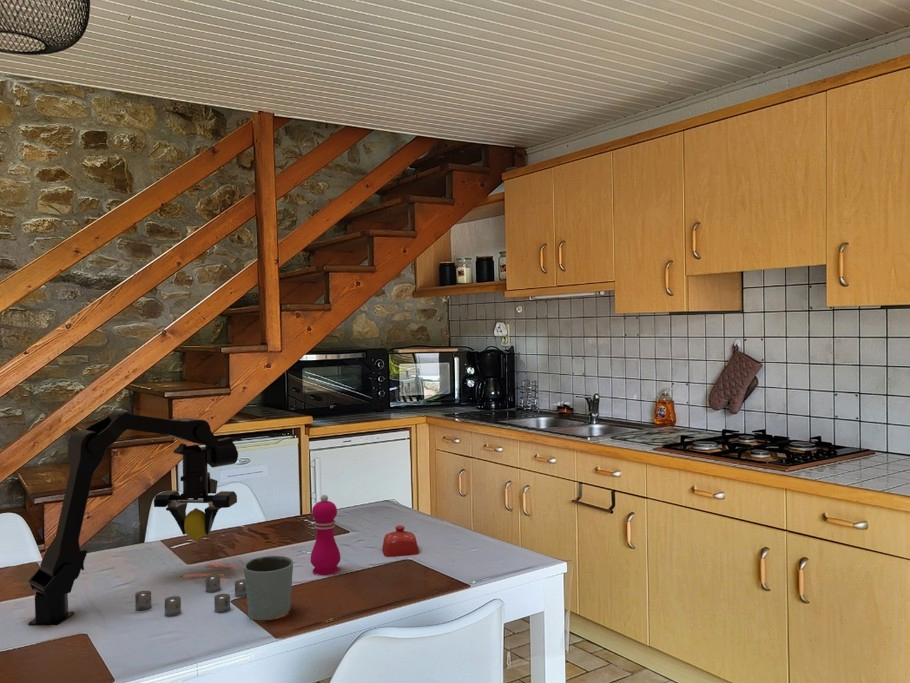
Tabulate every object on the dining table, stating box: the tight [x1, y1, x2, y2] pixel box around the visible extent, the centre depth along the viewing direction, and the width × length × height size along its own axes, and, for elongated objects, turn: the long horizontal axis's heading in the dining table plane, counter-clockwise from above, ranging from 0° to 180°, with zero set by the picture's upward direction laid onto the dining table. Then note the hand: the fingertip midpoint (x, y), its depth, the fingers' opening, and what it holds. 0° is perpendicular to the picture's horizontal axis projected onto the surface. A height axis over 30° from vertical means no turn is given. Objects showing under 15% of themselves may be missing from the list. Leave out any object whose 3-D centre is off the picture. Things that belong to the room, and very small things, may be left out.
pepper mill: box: [310, 494, 341, 576], centre depth 185 cm, size 7×7×20 cm
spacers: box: [134, 573, 247, 617], centre depth 168 cm, size 17×22×4 cm
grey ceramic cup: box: [243, 555, 294, 620], centre depth 159 cm, size 10×10×12 cm
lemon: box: [184, 507, 206, 542], centre depth 185 cm, size 6×6×8 cm
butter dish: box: [381, 524, 420, 558], centre depth 200 cm, size 12×12×8 cm
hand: (196, 534), depth 185 cm, fingers closed on lemon, 5 cm apart
